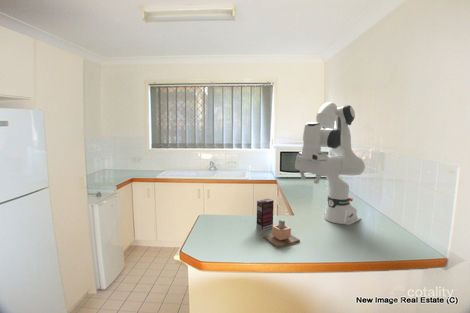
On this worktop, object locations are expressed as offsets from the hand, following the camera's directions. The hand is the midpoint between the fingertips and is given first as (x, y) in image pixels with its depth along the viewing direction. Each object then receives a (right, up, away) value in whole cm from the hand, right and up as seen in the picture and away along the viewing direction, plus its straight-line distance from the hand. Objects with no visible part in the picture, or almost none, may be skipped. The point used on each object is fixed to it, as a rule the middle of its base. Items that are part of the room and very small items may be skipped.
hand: (309, 181), depth 138 cm
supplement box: (-22, -28, +12) cm, 37 cm away
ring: (-15, -28, -3) cm, 31 cm away
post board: (-15, -30, -2) cm, 33 cm away
